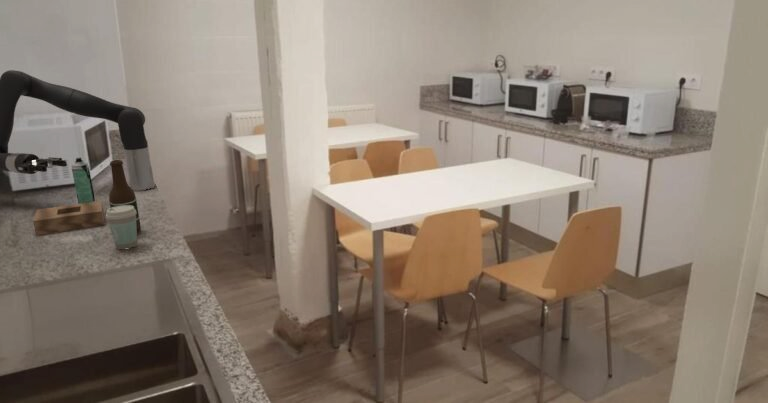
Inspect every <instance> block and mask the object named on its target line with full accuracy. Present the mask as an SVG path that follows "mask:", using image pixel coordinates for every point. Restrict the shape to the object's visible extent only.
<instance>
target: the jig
mask: <svg viewBox="0 0 768 403" xmlns="http://www.w3.org/2000/svg"><path fill="white" fill-rule="evenodd" d="M32 223H33V227H34V231H35V236H36V235H38V236H44V235H49V233H51V234H55V233H54V232H57V233H62V232H61V231H63V232H68V230H70V231H74V230H73V229H76V230H80V229H81V228H83V229H88V228H87V227H89V228H93V226H95V227H100V226H99V225H102V226H105V212H104V207H103V201H102V200H98V201H96V200H95V202H89V203H82V204H79V203H75V204H69V205H62V206H61V205H60V206H54V207H48V208H46V207H45V208H41V209H36V212H35V214H34V219H32ZM43 234H44V235H43Z"/></svg>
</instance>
